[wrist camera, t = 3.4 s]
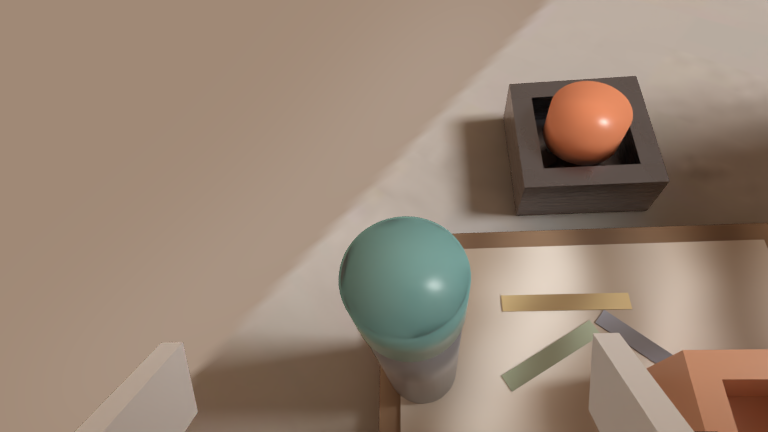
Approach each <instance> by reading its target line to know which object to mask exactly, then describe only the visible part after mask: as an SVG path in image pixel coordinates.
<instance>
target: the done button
mask: <svg viewBox="0 0 768 432" xmlns="http://www.w3.org/2000/svg"><path fill="white" fill-rule="evenodd" d="M632 119H633V110H632V107H631V104H630V102H629V101H628V99H627V98H626V97H625V96H624V95H623V94H622V93H621V92H620V91H618V90H617V89H615V88H614V87H612V86H610V85H607V84H604V83H600V82H595V81H579V82H574V83H571V84H568V85H566V86H564V87H563V88H561V89H560V90H559V91H557V93H556V94H555V95H554V96H553V98H552V100H551V103H550V107H549V110H548V114H547V117H546V120H545V124H544V127H543V138H544V141H545V144H546V145H547V147H548V148H549V150H550V151H551V152H552V153H553V154H554V155H556V156H557V157H558V158H560V159H562V160H564V161H566V162H569V163H572V164H577V165H594V164H598V163H601V162H604V161H606V160H607V159H609V158H610V157H611V156H612V155H614V153H615V152H616V151H617V149H618V147H619V145H620V143H621V141H622V140H623V138H624V136H625V134H626V132H627V130H628V129H629V127H630V125H631V123H632Z"/></svg>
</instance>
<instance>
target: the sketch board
mask: <svg viewBox="0 0 768 432" xmlns="http://www.w3.org/2000/svg"><path fill="white" fill-rule="evenodd" d="M452 235H453V236H454V237H455V238H456V239H457V240H458V241H459V242H460V244H461V246H462V247H463V249H464V251H465V253H466V255H467V257H468V261H469V264H470V270H471V286H470V293H469V299H468V306H467V312H466V318H465V322H464V325H463V328H462V334H461V341H460V348H459V355H458V362H457V369H456V376H455V380H454V382H453V385H452V387H451V388H450V390H449V391H448V392H447V393H446V394H445V395H444V396H443V397H442V398H440V399H438V400H437V401H434V402H431V403H425V404H420V403H414V402H411V401H408V400H407V399H405V398H403V397H402V396H401V395H400V394H398V393H397V391H396V390H395V389H394V387H393V386H392V384H391V382H390V380H389V379H388V377H387V375H386V373H385V372H384V370H383V368H382V367H381V365H380V392H379V432H599V430H598V428H597V426H596V424H595V422H594V420H593V418H592V416H591V414H590V412H589V392H590V375H591V359H592V342H593V333H620V335H621V336H622V337H623V339H624V340H625V341H626V343H627V344H628V345H629V347H630V348H631V349H632V350H633V352H634V353H635V354H636V356H637V357H638V358H639V360H640V361H641V362H642V364H643V365H644V366H645V368H648V367H650V366H652V365H654V364H656V363H658V362H660V361H662V360H664V359H666V358H668V357H670V356H672V355H674V354H676V353H678V352H680V351H682V350H740V349H768V223H750V224H721V225H692V226H663V227H634V228H605V229H576V230H547V231H518V232H489V233H460V234H452Z"/></svg>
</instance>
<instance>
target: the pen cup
mask: <svg viewBox="0 0 768 432" xmlns="http://www.w3.org/2000/svg"><path fill="white" fill-rule="evenodd" d="M646 369H647V370H648V372H649V373H650V374H651V375H652V377H653V378H654V379H655V381H656V382H657V383H658V385H659V386H660V387H661V389H662V390H663V391H664V393H665V394H666V395H667V397H668V398H669V399H670V400H671V402H672V403H673V404H674V406H675V407H676V408H677V410H678V411H679V412H680V414H681V415H682V416H683V418H684V419H685V420H686V422H687V423H688V424H689V425H690V427H691V428H692V429H693V431H718V432H768V349H740V350H682V351H680V352H678V353H676V354H674V355H672V356H670V357H668V358H666V359H664V360H662V361H660V362H658V363H656V364H654V365H652V366H650V367H648V368H646Z"/></svg>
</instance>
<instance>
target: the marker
mask: <svg viewBox="0 0 768 432" xmlns="http://www.w3.org/2000/svg"><path fill="white" fill-rule="evenodd" d="M470 286H471V270H470V264H469V261H468V257H467V255H466V253H465V251H464V249H463V247H462V246H461V244H460V242H459V241H458V240H457V239H456V238H455V237H454V236H453V235H452V234H451V233H450V232H449V231H448V230H446V229H445V228H444V227H442V226H440V225H438V224H437V223H435V222H432V221H429V220H427V219H423V218H418V217H406V216H403V217H394V218H390V219H386V220H383V221H380V222H378V223H376V224H374V225H372V226H370V227H369V228H367V229H365V230H364V231H363V232H362V233H360V234H359V235H358V236H357V237H356V238H355V239H354V240H353V242H352V243H351V244H350V246H349V247H348V249H347V251H346V252H345V254H344V257H343V259H342V262H341V266H340V271H339V290H340V295H341V298H342V301H343V303H344V306H345V308H346V310H347V311H348V313H349V315H350V316H351V318H352V320H353V322H354V323H355V325H356V327H357V328H358V330H359V332H360V333H361V335H362V337H363V338H364V340H365V341H366V342H367V343H368V344H369V346H370V347H371V349H372V351H373V353H374V354H375V356H376V358H377V360H378V361H379V363H380V365H381V367H382V368H383V370H384V372H385V373H386V375H387V377H388V379H389V380H390V382H391V384H392V386H393V387H394V389H395V390H396V391H397V393H398V394H400V395H401V396H402V397H403V398H405V399H407V400H408V401H411V402H414V403H420V404H425V403H431V402H434V401H437V400H438V399H440V398H442V397H443V396H444V395H445V394H446V393H447V392H448V391H449V390H450V388H451V387H452V385H453V382H454V380H455V376H456V369H457V362H458V355H459V348H460V341H461V334H462V328H463V325H464V322H465V318H466V312H467V306H468V299H469V293H470Z"/></svg>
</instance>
